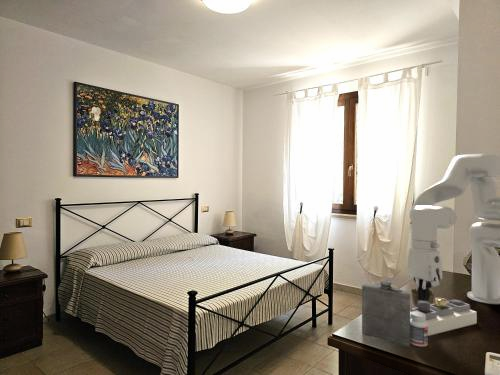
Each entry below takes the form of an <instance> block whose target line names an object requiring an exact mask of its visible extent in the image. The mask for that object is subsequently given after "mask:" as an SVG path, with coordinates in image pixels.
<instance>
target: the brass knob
mask: <svg viewBox="0 0 500 375" xmlns="http://www.w3.org/2000/svg"><path fill="white" fill-rule="evenodd" d="M447 301H448V299H447V298H444V297H435V298H434V304H435V307H437V308H440V309H447Z"/></svg>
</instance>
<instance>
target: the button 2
mask: <svg viewBox="0 0 500 375" xmlns="http://www.w3.org/2000/svg"><path fill="white" fill-rule="evenodd" d="M463 302H464V301H463V300H459V299H451V304H454V305H457V306H462V305H463Z"/></svg>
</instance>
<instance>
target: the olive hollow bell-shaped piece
mask: <svg viewBox="0 0 500 375" xmlns="http://www.w3.org/2000/svg"><path fill="white" fill-rule="evenodd" d="M410 293H411V298H412V299H411V300H412V303H413V305H414V306H415V307H414V308H416V307H418V301H421V300H419V299H418V288H417V287H416V288H414V289H413V288H412V289H411V292H410ZM434 295H435V293H434V292H433V291H432V290H430V289H429V300H426V302H429V303H430V305H431V304H434V303H433V302H434V297H435V296H434Z"/></svg>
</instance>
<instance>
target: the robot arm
mask: <svg viewBox="0 0 500 375" xmlns="http://www.w3.org/2000/svg"><path fill="white" fill-rule="evenodd" d="M494 178H500V153H489V152H488V153H487V152H486V153H471V154H470V153H469V154H468V153H467V154H466V153H465V154H460V155H457V156H454V157H453V158H452V159H451V161H450V162H449V164H448V166H447V168H446V170H445V172H444V174H443V175H442V177H441V179H440V180H439V182H437V183H434V184H433V185H431V186H430V187H428V188H427V189H425V190H423V191H422V192H421V193H420V194H419V195H418V196H417V197H416V199H415V200H414V203H413V205H412V206H411V209H410V211H409V219H410V222H411V225H410V226H411V227H410V228H411V243H410V245H411V246H410V247H409V251H408V255H407V256H408V258H407V274H408V276H409V277H408V278H409V279H411V280H413V281H414V283H415V286H416V288H417V289H418V299H419V300H421V301H426V300H429V290H430V289H431V288H432V287H439V286H440V281H442V280H443V265H442V264H443V263H442V257H441V253H440V250H438V249H439V248H440V244H439V243H438V229H443V230H446V229H450V228H452V227H453V226H455V224H456V222H457V220H458V219H457V218H458V217H457V213H456V211H454V209H453V208H451V207H449V206H443V205H441V206H440V205H439V206H438V205H437V206H436V205H435V204H438V203H440V202H444V201H449V200H451V199H454V198H458V197H461V196H462V195H463V194H464V193H465V191H466V190H467V187H468V185H469V186H470V195H471V209H472V210H471V211H472V215H473V216H474V217H475V218H476V219H480V220H484V221H479V222H475V223H472V224H471V225H470V227H469V232H468V233H469V240H470V246H471V291H468V292H466V296H467V297H468V299H470V300H472V301H474V302H475V301H476V302H479V303H484V304H489V305H500V255H499V252H498V251H497V249H496V248H500V223H498V221H499V222H500V196H499V195H498V192H497V191H498V190H497V182H496V181H495V179H494ZM485 220H487V221H497V222H487V221H485Z"/></svg>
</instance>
